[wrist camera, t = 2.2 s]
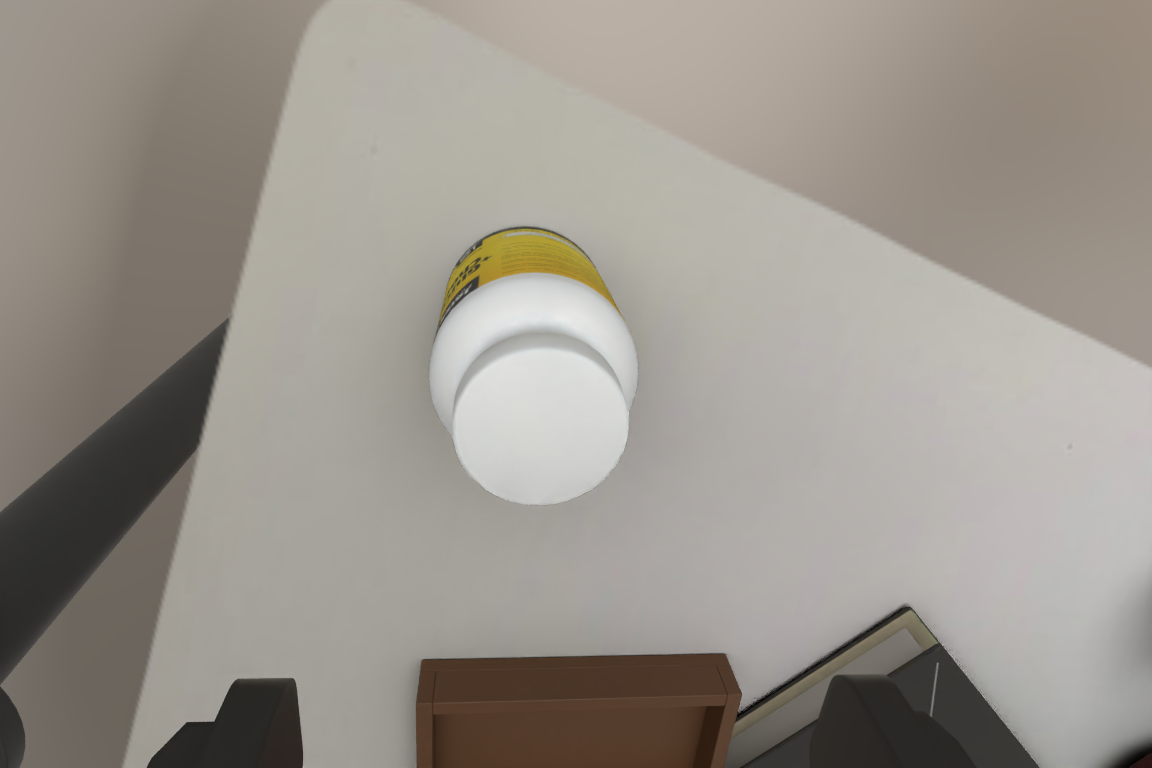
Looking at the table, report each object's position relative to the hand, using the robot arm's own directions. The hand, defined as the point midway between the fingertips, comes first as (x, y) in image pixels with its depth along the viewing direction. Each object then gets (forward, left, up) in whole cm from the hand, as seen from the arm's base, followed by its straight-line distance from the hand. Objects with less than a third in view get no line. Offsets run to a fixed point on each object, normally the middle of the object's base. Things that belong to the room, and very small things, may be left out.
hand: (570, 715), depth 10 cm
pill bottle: (0, 0, -20) cm, 20 cm away
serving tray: (+4, -25, -20) cm, 32 cm away
